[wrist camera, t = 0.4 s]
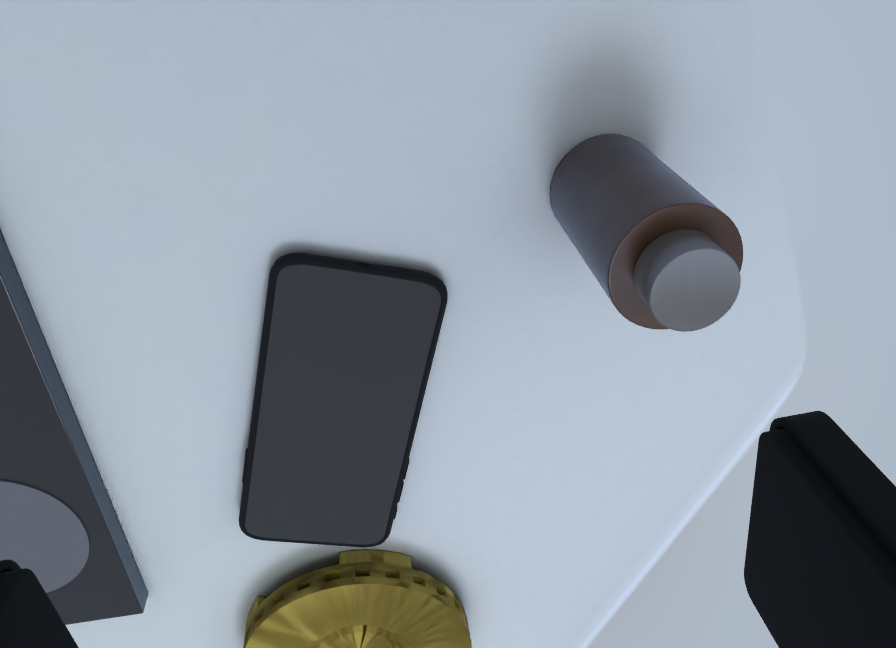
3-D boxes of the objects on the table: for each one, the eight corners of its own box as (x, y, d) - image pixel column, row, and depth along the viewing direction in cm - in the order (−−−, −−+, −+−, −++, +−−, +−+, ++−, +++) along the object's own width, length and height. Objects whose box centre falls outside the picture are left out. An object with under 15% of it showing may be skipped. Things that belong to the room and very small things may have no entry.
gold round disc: (390, 515, 37) (392, 548, 35) (503, 636, 43) (510, 670, 41) (198, 618, 39) (191, 655, 37) (331, 721, 45) (331, 757, 43)
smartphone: (455, 281, 30) (388, 551, 37) (452, 271, 31) (387, 537, 38) (269, 253, 28) (234, 541, 35) (271, 243, 29) (236, 527, 36)
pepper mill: (549, 140, 29) (627, 231, 21) (660, 128, 29) (777, 213, 21) (549, 244, 31) (619, 362, 23) (652, 232, 31) (756, 344, 23)
